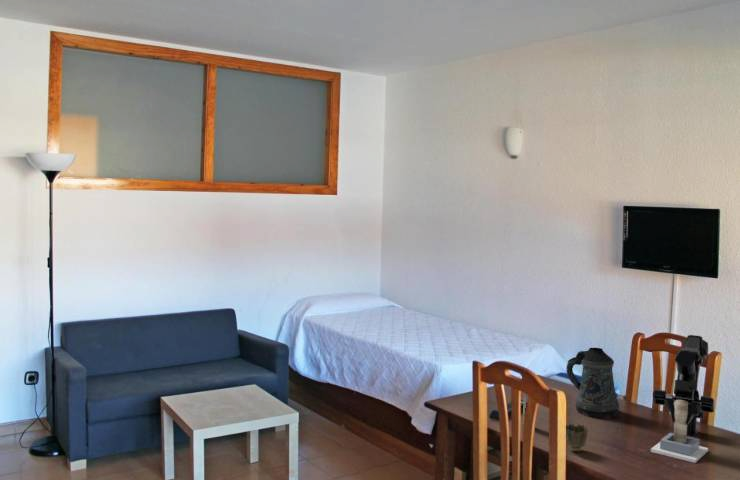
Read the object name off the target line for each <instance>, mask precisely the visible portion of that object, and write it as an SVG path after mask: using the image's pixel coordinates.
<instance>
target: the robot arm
mask: <svg viewBox="0 0 740 480" xmlns="http://www.w3.org/2000/svg"><path fill="white" fill-rule="evenodd" d="M678 351H679V352H677V353H676V356H675V358H674V360H675V361H674V363H676V371H677V377H676V379H675V380H674V388H673V394H670V393H667V390H663V389H657V388H656V389H654V390H653V391H652V398H653V399H652V400H653V403H654V404H655V405H660V406H664V407H665V408H668V410H669V414H670V416H671V422H672V423H673V424H674V413H675V400H685V401H687V402H688V417H687V435H688V436H693V437H694V436H696V435H697V434H698V433H699V432H700V429H698V428H697V425H698V424H697V422H698V419H701V418H703V417H704V412H707V413H715V399H714V398H713V397H712V396H711V397H710V396H704V395H700V393H699V391H698V383H699V375H700V369H701V365H702V364H704V363H705V362H706V360H707V357H708V356H709V343H708V342H707V341H706V340H705V339H703V336H701V335H695V334H694V335H693V334H688V335H687V336H686V339H684V340H683V346H682V348H680V349H679V350H678Z"/></svg>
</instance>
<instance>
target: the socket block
mask: <svg viewBox="0 0 740 480" xmlns="http://www.w3.org/2000/svg"><path fill="white" fill-rule="evenodd" d="M673 437H674V432H669V433H668V434H666V435H665V436H663V437H662V438H661V439H660V441H659V442H657V444H655V445H654V446H652V447H651V448H650V452H651V453H655V454H657V455H658V454H659V455H662V456H667V457H669V458H670V457H671V458H674V459H677V460H683V461H687V462H690V463H694V464H695V463H697V462H698V461H699V460H700V459H701V458H702V457H703V456H704V455H706V453H707V452H709V448H708V447H705V446H702V445H700V439H699V438H694V437H691V436H687V442H686V444H682V443H678V442H674V441H673Z"/></svg>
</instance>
